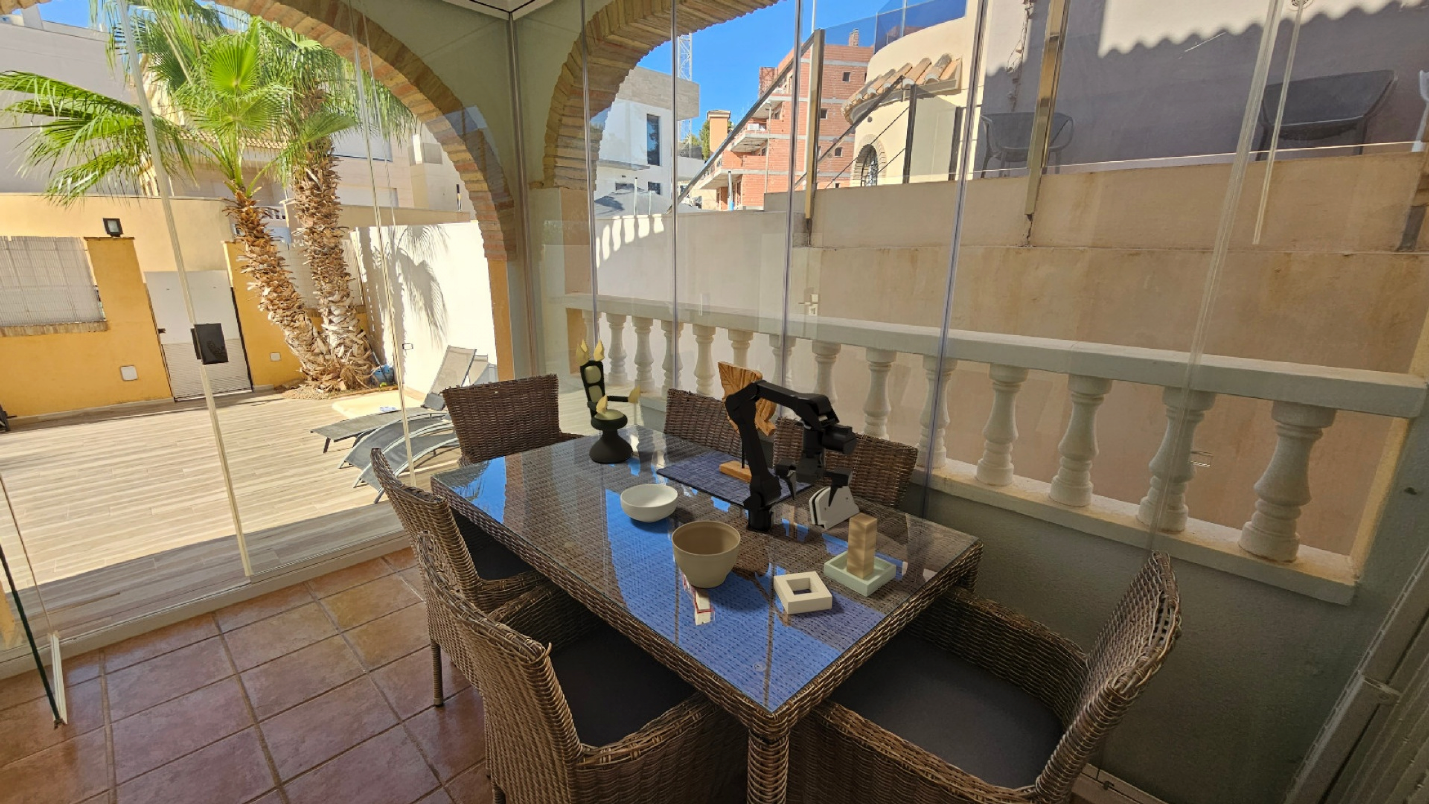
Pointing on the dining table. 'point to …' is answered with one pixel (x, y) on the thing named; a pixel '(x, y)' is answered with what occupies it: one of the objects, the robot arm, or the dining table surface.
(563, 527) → the dining table surface
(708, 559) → the planter bowl
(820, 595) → the block
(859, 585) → the tray
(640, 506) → the cereal bowl
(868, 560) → the wooden block
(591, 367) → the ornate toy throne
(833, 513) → the white napkin holder
